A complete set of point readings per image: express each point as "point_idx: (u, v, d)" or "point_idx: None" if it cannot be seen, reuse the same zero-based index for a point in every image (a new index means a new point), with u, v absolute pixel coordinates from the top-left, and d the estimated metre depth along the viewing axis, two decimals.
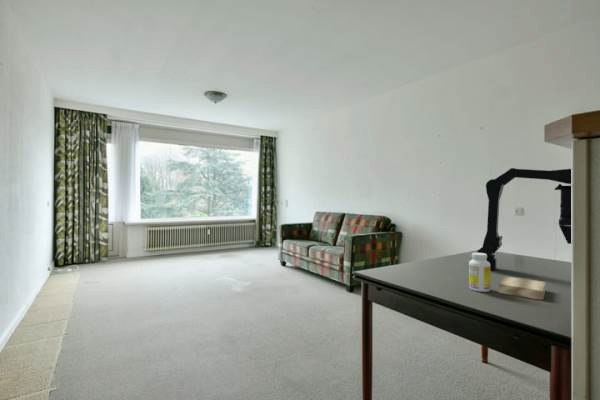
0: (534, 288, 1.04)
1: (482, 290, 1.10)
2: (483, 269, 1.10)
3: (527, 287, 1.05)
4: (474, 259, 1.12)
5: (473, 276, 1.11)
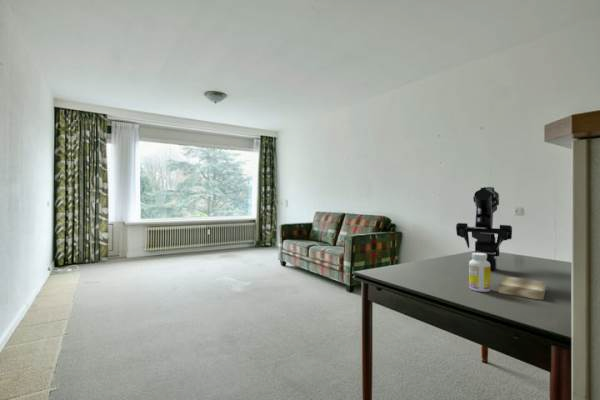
0: (534, 288, 1.04)
1: (482, 290, 1.10)
2: (483, 269, 1.10)
3: (527, 287, 1.05)
4: (474, 259, 1.12)
5: (473, 276, 1.11)
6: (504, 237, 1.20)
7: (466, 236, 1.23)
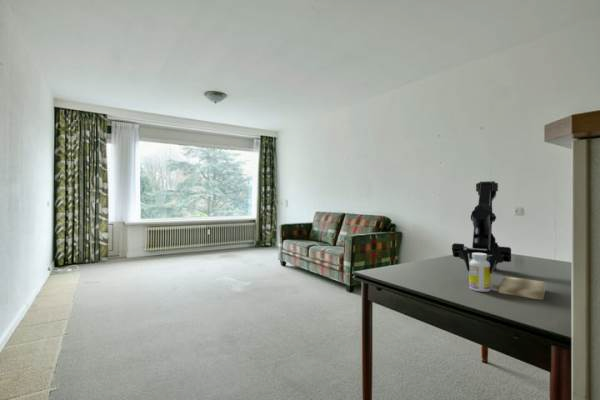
0: (534, 288, 1.04)
1: (482, 290, 1.10)
2: (483, 269, 1.10)
3: (527, 287, 1.05)
4: (474, 259, 1.12)
5: (473, 276, 1.11)
6: (499, 259, 1.13)
7: (466, 258, 1.15)
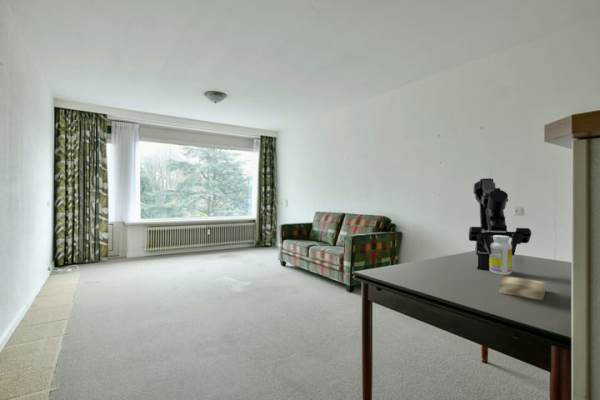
0: (534, 288, 1.04)
1: (505, 273, 1.08)
2: (507, 251, 1.07)
3: (527, 287, 1.05)
4: (496, 241, 1.10)
5: (497, 259, 1.09)
6: (518, 241, 1.12)
7: (486, 241, 1.12)
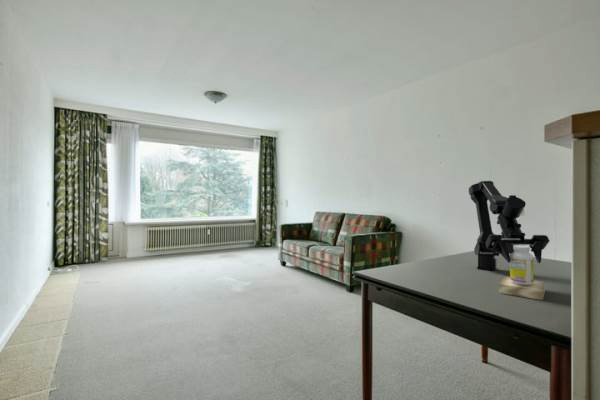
0: (534, 288, 1.04)
1: (529, 283, 1.07)
2: (530, 261, 1.07)
3: (527, 287, 1.05)
4: (519, 252, 1.08)
5: (520, 270, 1.07)
6: None
7: (505, 249, 1.10)
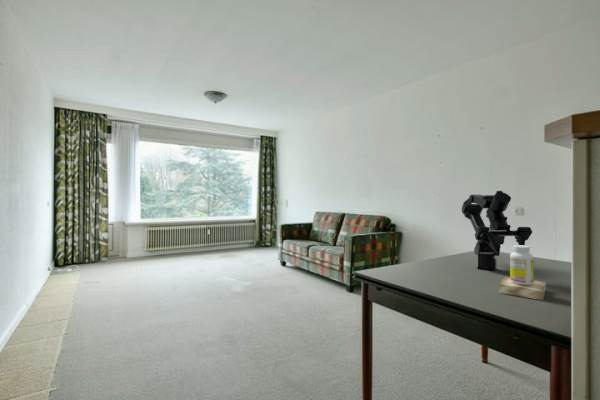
0: (534, 288, 1.04)
1: (529, 283, 1.07)
2: (530, 261, 1.07)
3: (527, 287, 1.05)
4: (519, 252, 1.08)
5: (520, 270, 1.07)
6: None
7: (492, 240, 1.21)
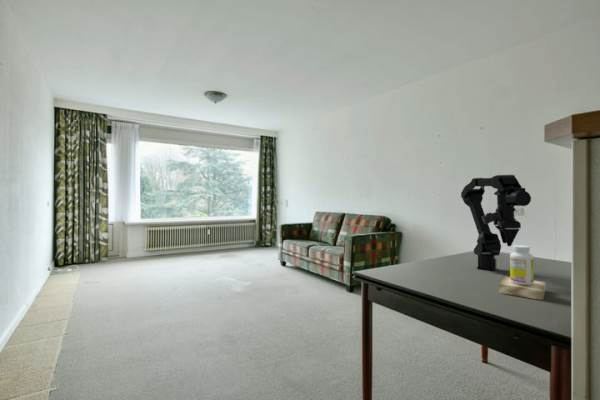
0: (534, 288, 1.04)
1: (529, 283, 1.07)
2: (530, 261, 1.07)
3: (527, 287, 1.05)
4: (519, 252, 1.08)
5: (520, 270, 1.07)
6: None
7: None
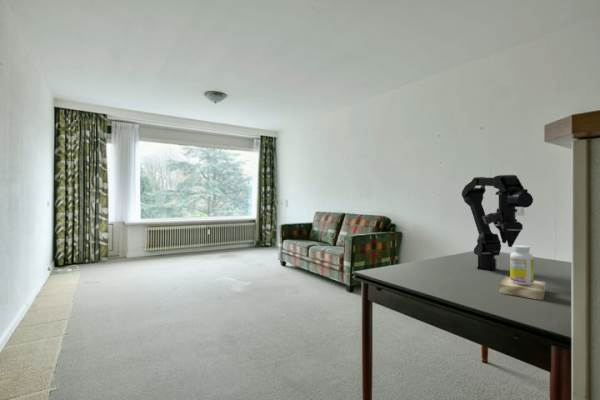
0: (534, 288, 1.04)
1: (529, 283, 1.07)
2: (530, 261, 1.07)
3: (527, 287, 1.05)
4: (519, 252, 1.08)
5: (520, 270, 1.07)
6: None
7: None
